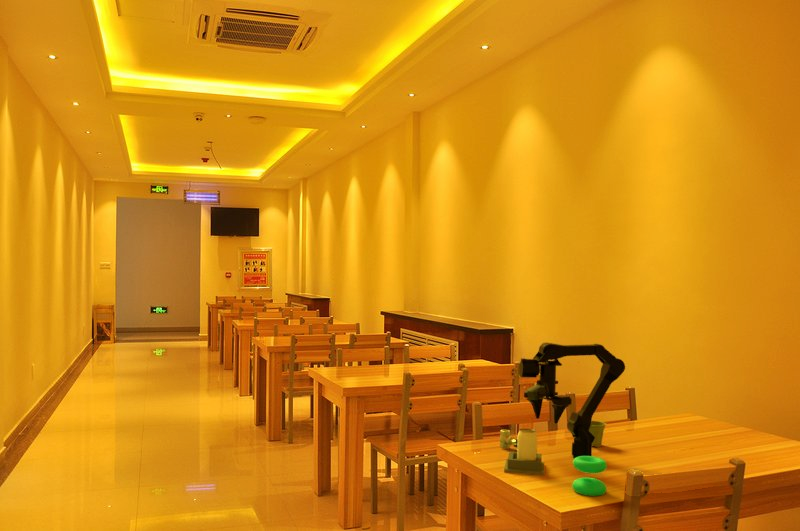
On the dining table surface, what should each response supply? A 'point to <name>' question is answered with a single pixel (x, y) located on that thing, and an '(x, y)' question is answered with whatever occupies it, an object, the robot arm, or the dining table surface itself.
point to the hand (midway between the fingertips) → (546, 420)
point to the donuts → (589, 484)
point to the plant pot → (597, 432)
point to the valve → (507, 440)
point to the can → (527, 444)
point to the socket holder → (524, 465)
